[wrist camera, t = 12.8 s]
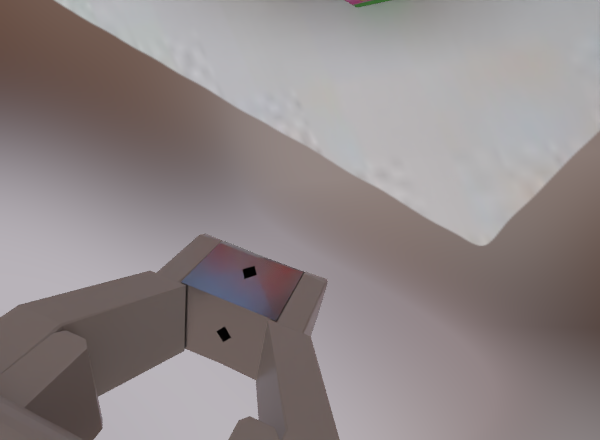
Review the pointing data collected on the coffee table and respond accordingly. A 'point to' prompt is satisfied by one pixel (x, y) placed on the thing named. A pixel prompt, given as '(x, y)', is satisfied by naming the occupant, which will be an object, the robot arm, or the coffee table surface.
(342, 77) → the coffee table surface
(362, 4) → the game box
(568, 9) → the coffee table surface
